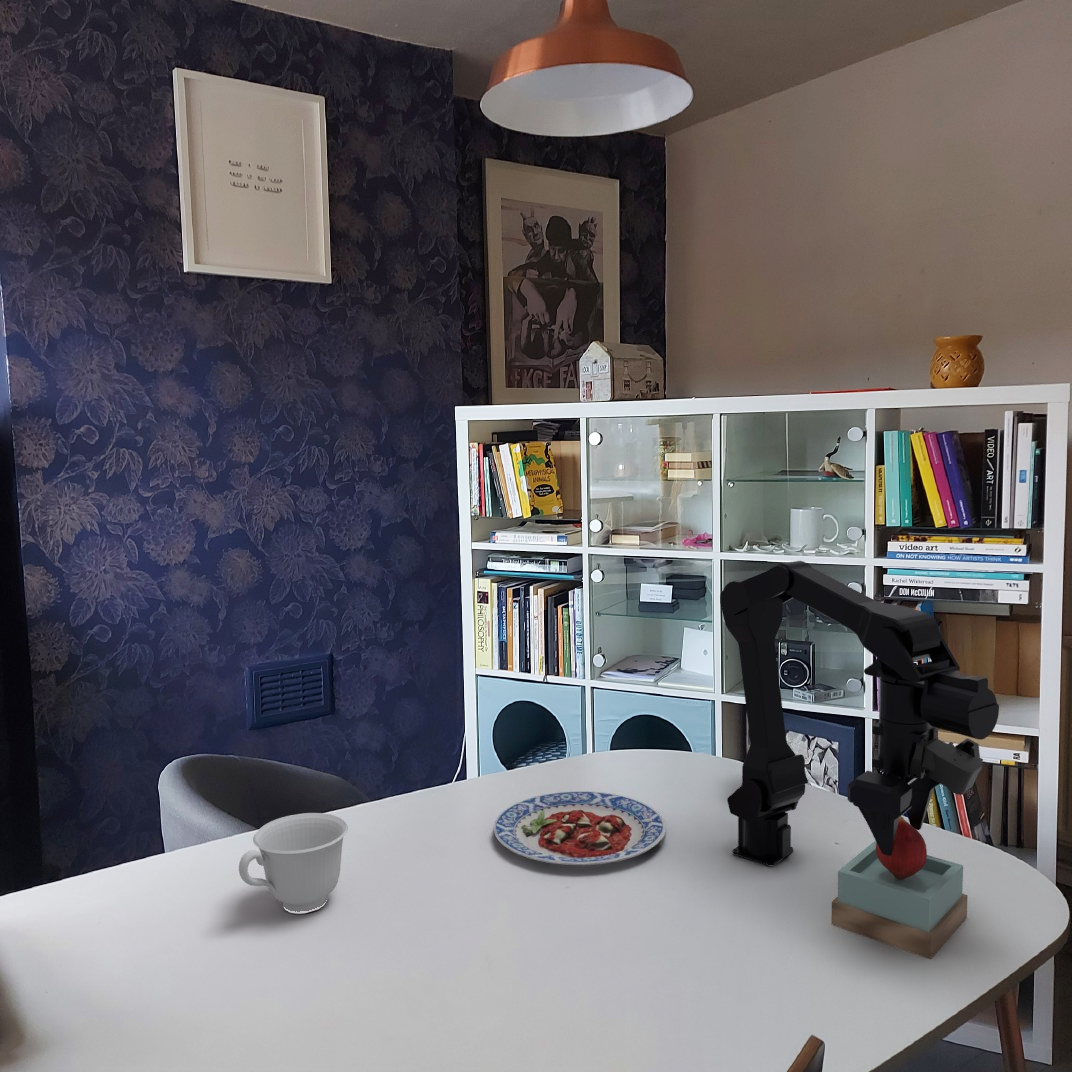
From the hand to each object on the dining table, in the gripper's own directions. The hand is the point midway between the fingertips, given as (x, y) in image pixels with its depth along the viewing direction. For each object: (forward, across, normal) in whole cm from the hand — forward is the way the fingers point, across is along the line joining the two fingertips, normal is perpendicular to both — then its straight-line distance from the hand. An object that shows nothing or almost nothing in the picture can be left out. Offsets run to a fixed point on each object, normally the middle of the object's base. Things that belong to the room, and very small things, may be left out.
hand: (901, 841), depth 117 cm
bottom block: (+11, 0, 0) cm, 11 cm away
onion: (+5, 0, 0) cm, 5 cm away
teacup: (+10, -46, +61) cm, 77 cm away
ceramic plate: (+11, -6, +46) cm, 48 cm away
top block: (+7, 0, 0) cm, 7 cm away
